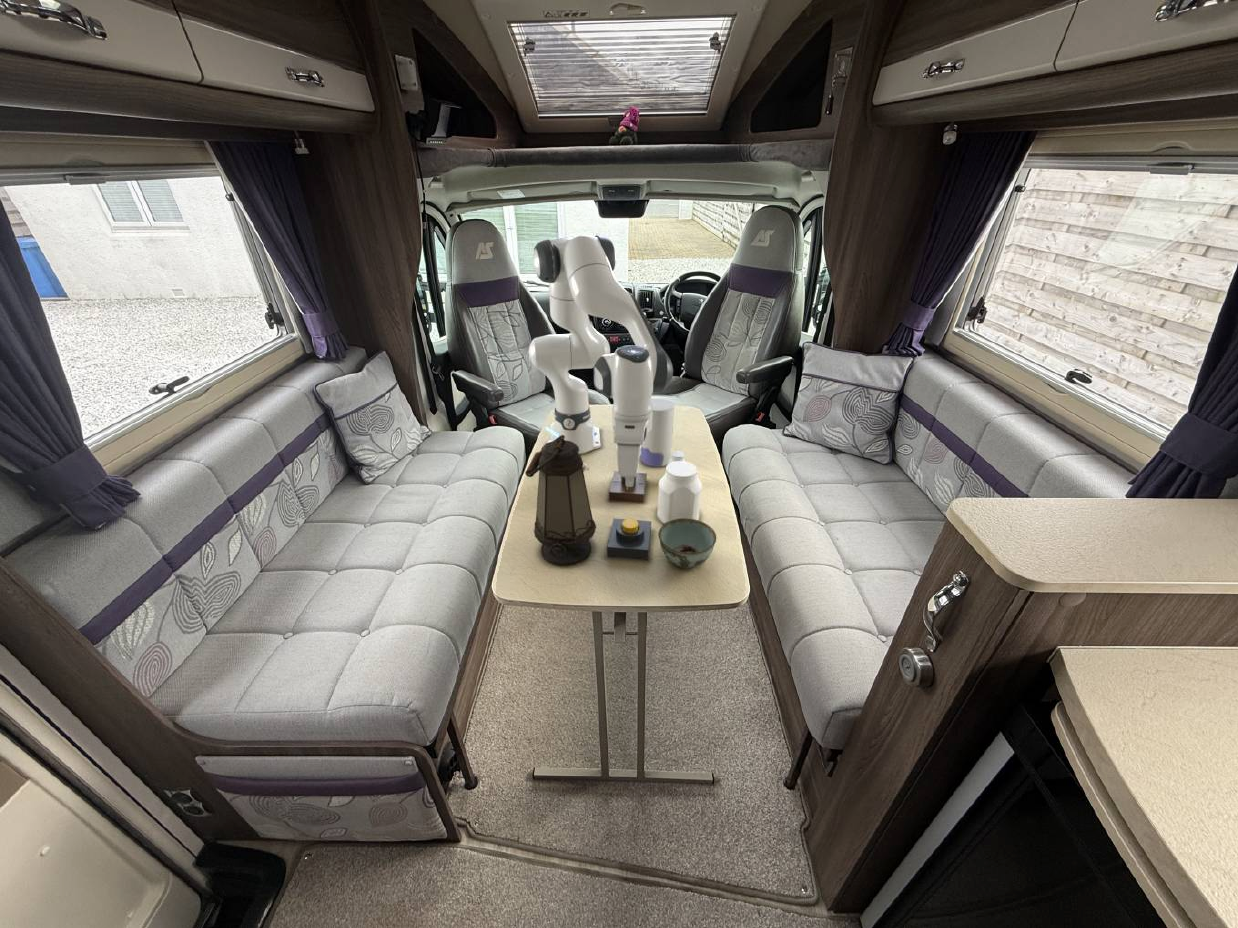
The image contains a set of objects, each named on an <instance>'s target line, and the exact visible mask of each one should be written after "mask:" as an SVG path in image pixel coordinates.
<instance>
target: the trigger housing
mask: <svg viewBox="0 0 1238 928" xmlns="http://www.w3.org/2000/svg"><path fill="white" fill-rule="evenodd" d="M626 519H627V518H613V519H612V524H611V529H610V533H609V537H608V541H607V546H606V556H607V558H615V559H626V560H638V561H649V553H650V543H651V536H652V535H651V534H652V521H651V520H641V519H638V520H637V519H635V520H636V521H637V522H638V531H637V532H636V533H625V532H624V531H623V530H622V522H623V521H624V520H626Z"/></svg>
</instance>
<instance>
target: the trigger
mask: <svg viewBox="0 0 1238 928" xmlns="http://www.w3.org/2000/svg"><path fill="white" fill-rule="evenodd" d="M625 519H626V520H624V521H623V522H622V530H623V531H624V532H625V533H636V532H637V531H638V522H637V521H636V520H637V519H634V518H625Z"/></svg>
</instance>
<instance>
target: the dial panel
mask: <svg viewBox="0 0 1238 928" xmlns="http://www.w3.org/2000/svg"><path fill="white" fill-rule="evenodd" d="M647 478H648V474H647V473H646V472H637V474H636V483H635V484H634V485H633V487H627V486H625V485H623V484H622V483H621V476H620V474H619V471H615V470H614V471H613V475H612V480H611V483H610V487H609V490H608V500H609V501H611V502H625V503H639V504H644V502H645V495H646V489H647V488H646V487H647Z"/></svg>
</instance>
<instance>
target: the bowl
mask: <svg viewBox="0 0 1238 928" xmlns="http://www.w3.org/2000/svg"><path fill="white" fill-rule="evenodd" d="M658 539H659V545H660V549H661V551H662V553H663V555H664V557H665V558H666V559H667V560H668V561H669V562H670V563H671V564H673V565H675V566H676V567H678V568H680V569H684V570H690V569H694V568H695V567H698V566H700V565H702V564H703V563H705V562H706V561H707V560H708V559H709V557H710V556H711V555H712V554H713V553H712V552H713V550H714V548H715V545H716V542H717V533H716V532H715V530H714V529H713V527H711V525H708V524H707V523H705V522H703V521H701V520H699V519H698V520H695V519H687V518H681V519H674V520H671V521H668V522H666V523H665V524H664V523H662V525H661V526H660V528H659V530H658Z"/></svg>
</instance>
